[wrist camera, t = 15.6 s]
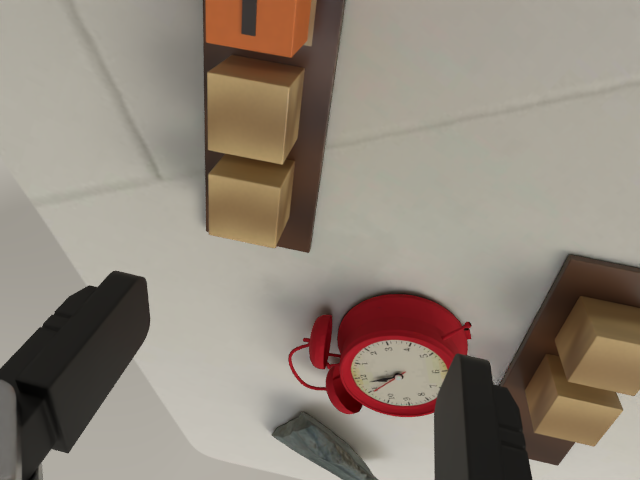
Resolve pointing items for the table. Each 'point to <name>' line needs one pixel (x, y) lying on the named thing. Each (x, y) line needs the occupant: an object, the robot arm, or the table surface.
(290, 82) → the brown block tray
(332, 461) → the stone
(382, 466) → the table surface
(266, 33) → the orange slotted cube
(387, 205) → the table surface
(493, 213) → the table surface
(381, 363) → the alarm clock
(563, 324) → the tray
